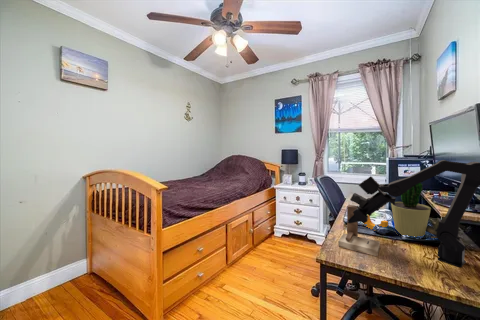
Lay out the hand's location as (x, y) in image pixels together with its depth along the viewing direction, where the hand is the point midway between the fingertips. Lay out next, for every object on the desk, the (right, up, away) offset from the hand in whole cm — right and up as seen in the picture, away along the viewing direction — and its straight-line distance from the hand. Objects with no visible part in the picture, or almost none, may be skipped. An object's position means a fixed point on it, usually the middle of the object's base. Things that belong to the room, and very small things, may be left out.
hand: (349, 221), depth 102 cm
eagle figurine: (+38, -8, -5) cm, 39 cm away
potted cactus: (+32, -8, +3) cm, 33 cm away
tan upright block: (-1, -9, -4) cm, 9 cm away
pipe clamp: (+20, -8, +10) cm, 24 cm away
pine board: (0, -9, -8) cm, 12 cm away
